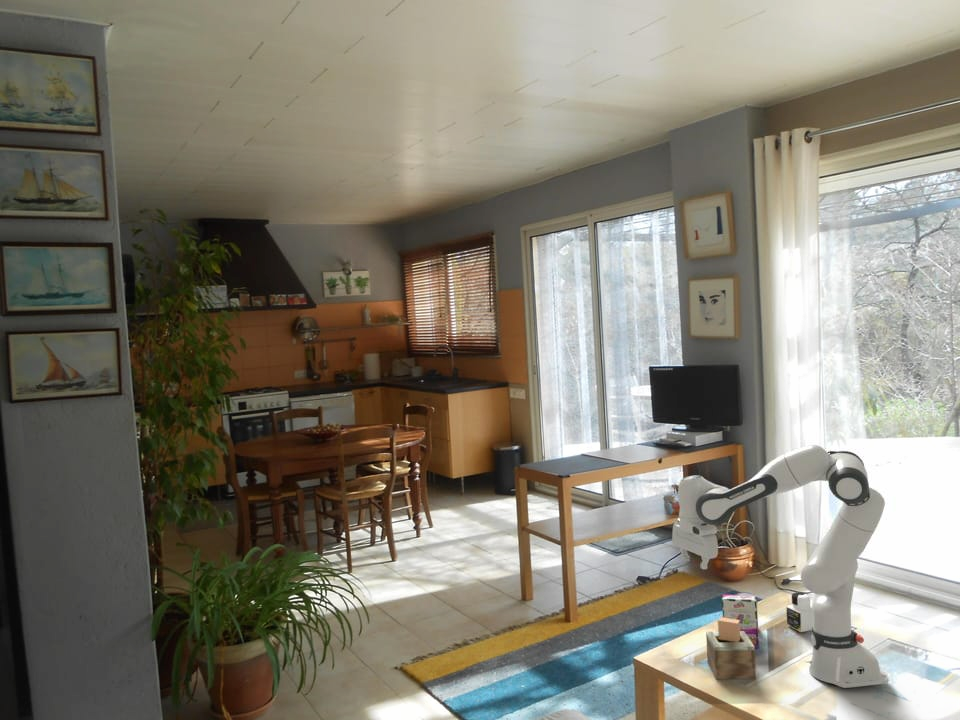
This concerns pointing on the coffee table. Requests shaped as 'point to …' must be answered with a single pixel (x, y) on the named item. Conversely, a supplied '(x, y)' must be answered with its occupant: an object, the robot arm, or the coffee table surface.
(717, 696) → the coffee table surface
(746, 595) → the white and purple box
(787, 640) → the coffee table surface
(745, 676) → the drop box
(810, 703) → the coffee table surface
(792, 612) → the medicine bottle
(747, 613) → the candy bar box
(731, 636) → the block
